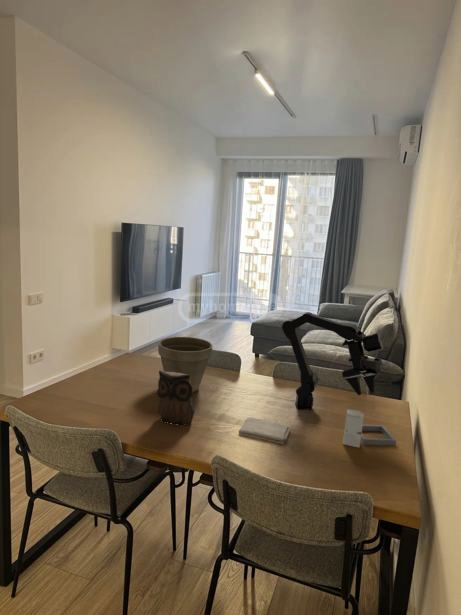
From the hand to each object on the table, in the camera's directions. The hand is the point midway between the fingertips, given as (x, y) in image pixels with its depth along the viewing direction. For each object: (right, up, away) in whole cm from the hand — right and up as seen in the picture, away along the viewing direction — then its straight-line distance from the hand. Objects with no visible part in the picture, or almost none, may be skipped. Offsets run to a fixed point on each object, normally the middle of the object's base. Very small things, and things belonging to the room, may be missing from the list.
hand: (366, 394), depth 166 cm
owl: (-74, -10, 0) cm, 74 cm away
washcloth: (-40, -14, -7) cm, 43 cm away
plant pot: (-75, -4, +32) cm, 82 cm away
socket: (+1, -15, -6) cm, 16 cm away
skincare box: (-9, -16, -12) cm, 22 cm away
